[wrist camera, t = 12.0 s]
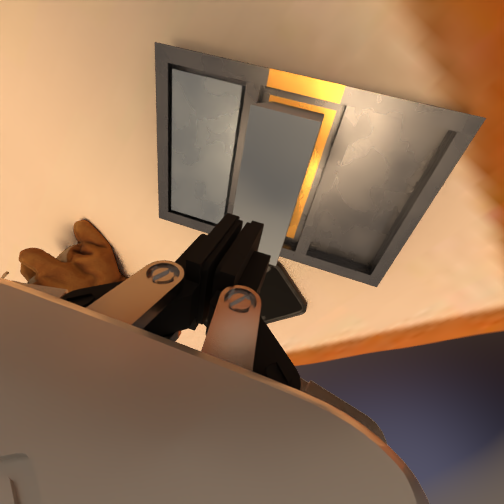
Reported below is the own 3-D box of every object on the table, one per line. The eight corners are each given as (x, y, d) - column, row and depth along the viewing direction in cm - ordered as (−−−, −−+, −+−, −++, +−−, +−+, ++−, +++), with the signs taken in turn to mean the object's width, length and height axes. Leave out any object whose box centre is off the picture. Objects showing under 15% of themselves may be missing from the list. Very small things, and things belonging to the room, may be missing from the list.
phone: (181, 298, 34) (275, 260, 27) (185, 293, 35) (277, 255, 28) (215, 338, 36) (310, 313, 29) (218, 332, 37) (311, 306, 30)
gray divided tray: (173, 47, 20) (152, 41, 17) (468, 115, 17) (488, 118, 15) (172, 208, 28) (157, 219, 25) (373, 271, 25) (377, 289, 23)
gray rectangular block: (272, 101, 19) (250, 104, 14) (324, 114, 18) (321, 122, 14) (248, 218, 25) (226, 250, 20) (287, 230, 24) (275, 266, 19)
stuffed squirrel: (82, 211, 32) (-47, 273, 21) (160, 291, 36) (85, 377, 25) (53, 245, 37) (-63, 308, 26) (124, 312, 41) (49, 390, 30)
